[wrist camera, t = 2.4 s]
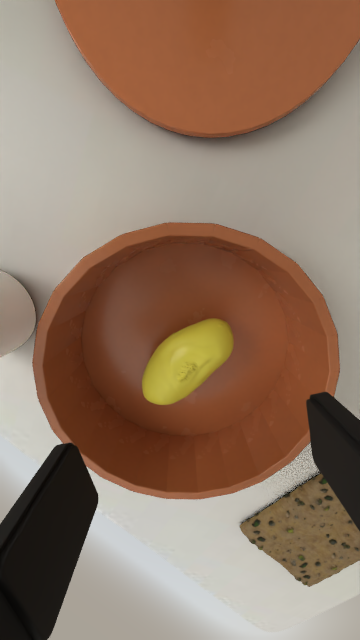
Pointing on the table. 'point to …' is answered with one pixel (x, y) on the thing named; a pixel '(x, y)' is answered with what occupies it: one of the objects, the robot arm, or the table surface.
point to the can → (14, 314)
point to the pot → (155, 327)
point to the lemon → (186, 360)
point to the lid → (213, 56)
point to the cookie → (307, 532)
